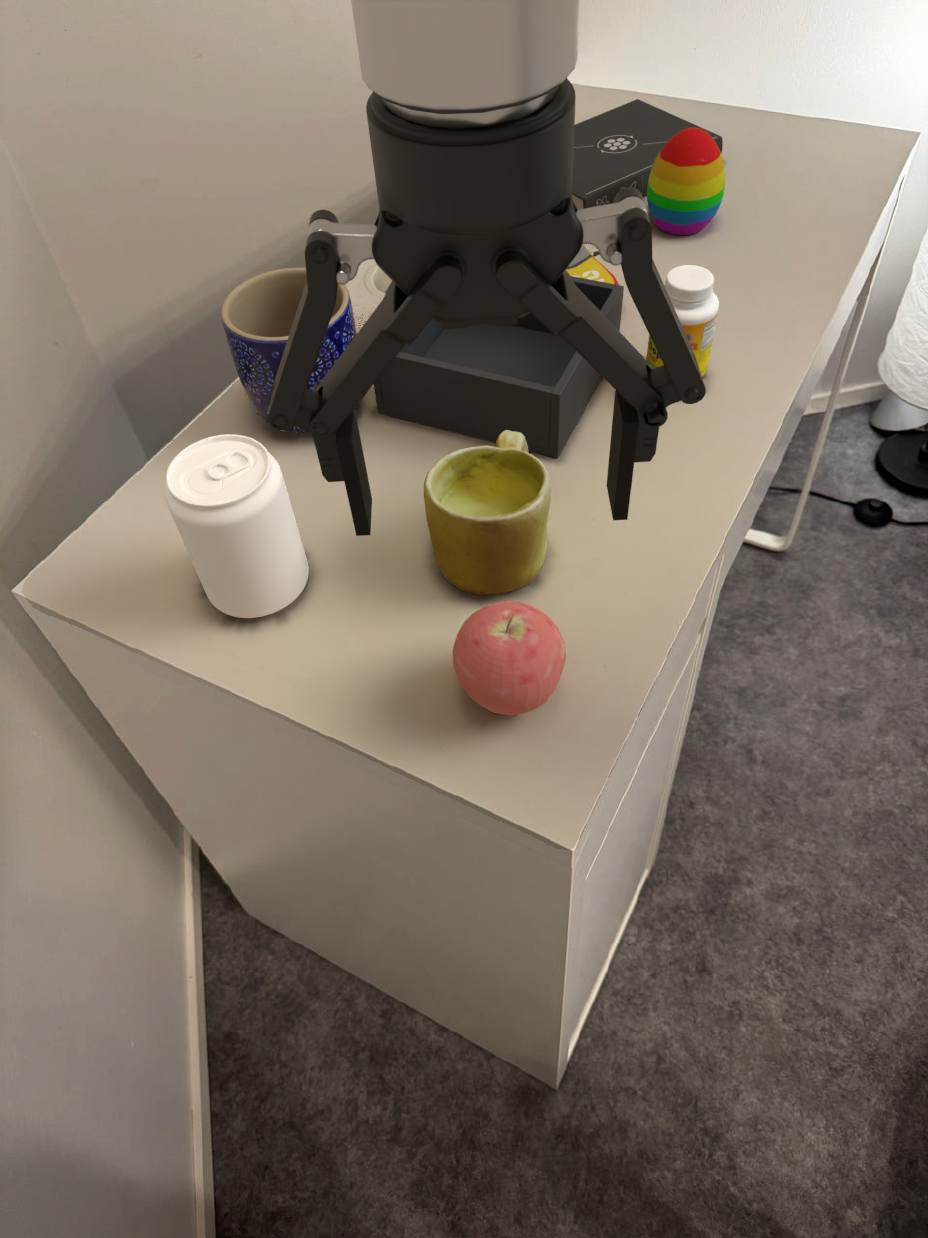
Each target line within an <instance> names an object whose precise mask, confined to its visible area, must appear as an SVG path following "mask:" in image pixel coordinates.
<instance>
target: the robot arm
mask: <svg viewBox="0 0 928 1238" xmlns="http://www.w3.org/2000/svg"><path fill="white" fill-rule="evenodd" d="M350 2H351V9H352V15H353V23H354V31H355V37H356V44H357V45H356V46H357V52H358V58H359V59H358V60H359V67H360V72H361V79H362V81H363V82H364V83H365V85H366V87H367V88H368V89H369V90H371V91H372V92H371V94H370V95H369V97H368V99H367V100H366V101H367V102H366V106H365V111H366V118H367V119H366V120H367V127H368V134H369V135H368V136H369V143H370V148H371V149H370V150H371V156H372V157H371V158H372V165H373V172H374V179H375V188H376V193H377V194H376V195H377V200H378V215H377V217H376V219H375V222H374V224H373V223H371V224H370V223H349V222H348V223H347V222H345V223H344V222H339V218H338V217H337V216H336V215H335V213H333V212H332V211H330V210H328V209H318V210H316V211H314V212H312V213H311V216H310V217H309V221H308V222H309V223H308V229H307V234H306V241H305V242H306V243H305V249H304V261H305V268H306V274H307V280H306V283H305V287H304V290H303V293H302V296H301V299H300V302H299V305H298V309H297V312H296V315H295V318H294V321H293V324H292V327H291V331H290V334H289V337H288V340H287V343H286V346H285V350H284V353H283V356H282V359H281V362H280V365H279V368H278V372H277V375H276V378H275V381H274V384H273V390H272V396H271V402H270V408H269V414H268V422H269V423H268V425H269V426H270V427H272V429H274V430H276V431H281V432H286V431H285V430H288V429H290V428H291V427H292V426H294V427H299V428H302V429H305V430H307V431H308V432H309V433H308V434H310V436H311V437H312V439H313V442H314V446H315V451H316V455H317V458H318V459H317V460H318V463H319V466H320V471H321V474H322V477H323V478H324V479H325V480H326V482H327V483H337V482H338V483H339V482H344V487H345V491H346V495H347V499H348V504H349V509H350V514H351V518H352V522H353V528H354V531H355V537H363V536H364V537H365V536H366V537H367V536H371V532H372V531H371V529H372V514H373V513H372V512H373V511H372V510H373V509H372V508H373V496H372V492H371V485H370V481H369V475H368V471H367V465H366V460H365V454H364V450H363V444H362V439H361V433H360V428H359V423H358V422H359V421H358V418H357V417H358V416H357V412H356V407H357V406H358V404H359V403H360V402H361V400H362V399H363V398H364V397H365V396H366V394H367V393H368V392H369V391H370V390H371V388H372V387H373V386H374V385H373V384H374V383H375V382H376V381H377V379H378V378H379V377H380V376H381V374H382V373H383V372H384V371H385V369H386V368H387V367H388V366H389V364H390V363H391V362H392V361H393V359H394V358H395V357H396V356H397V354H398V353H399V352H400V351H401V349H402V348H403V347H404V346H405V345H410V344H411V343H412V342H413V341H414V340H415V339H416V338H417V336H418V335H419V334H420V333H421V332H422V330H423V329H424V328H425V327H426V325H427V324H428V323H429V322H430V320H431V319H432V320H434V321H436V322H439V323H443V324H445V329H457V328H465V327H468V326H472V325H475V324H478V323H487V324H493V325H499V326H502V325H517V324H518V319H519V318H522V317H524V316H526V315H528V314H529V313H530V312H531V313H532V314H533V315H534V316H535V317H536V318H537V319H538V320H539V321H540V322H542V323H543V324H544V325H545V326H546V327H547V328H548V329H549V330H550V331H551V332H552V333H553V334H554V335H558V334H559V335H561V336H562V337H563V338H564V339H565V340H566V341H567V342H568V343H569V344H570V345H571V346H572V347H573V348H574V349H575V350H576V351H577V352H578V353H579V354H580V355H581V356H582V357H583V358H584V359H585V360H586V361H587V362H588V363H589V364H590V365H591V366H592V367H593V368H594V369H595V370H596V371H597V372H598V373H599V374H600V375H601V376H602V379H604V380H605V381H606V382H607V383H608V384H609V385H610V386H611V387H612V388H613V389H614V397H613V398H614V400H613V410H612V421H611V432H610V443H609V444H610V445H609V453H608V454H609V455H608V466H607V474H606V475H607V477H606V490H607V496H608V500H609V506H610V512H611V517H612V521H628V518H629V509H630V501H631V492H632V485H633V476H634V467H635V463H646V462H647V463H649V462H651V461H652V460H653V458H654V457H655V455H656V452H657V444H658V438H659V433H660V432H659V431H660V427H662V426H663V425H664V424H666V423H667V420H668V418H669V417H668V411H667V408H668V407H669V406H671V405H673V404H676V403H678V402H682V403H684V404H686V405H694V404H697V403H699V402H701V401H702V400H703V399H704V398H705V396H706V394H707V390H706V386H705V383H704V380H703V379H702V376H701V373H700V370H699V366H698V363H697V360H696V357H695V354H694V352H693V350H692V348H691V345H690V343H689V341H688V338H687V336H686V334H685V332H684V329H683V327H682V325H681V322H680V320H679V318H678V316H677V313H676V311H675V309H674V307H673V304H672V302H671V300H670V297H669V295H668V293H667V291H666V288H665V284H664V282H663V279H662V277H661V274H660V272H659V270H658V268H657V265H656V264H655V261H654V259H653V227H652V224H651V220H650V216H649V213H648V210H647V207H646V203H645V201H644V197H642V194H641V193H640V191H639V190H638V189H635V188H633V187H627V188H625V189H622V190H621V191H619V192H618V193H617V194H616V196H615V198H614V202H613V203H612V204H607V205H601V206H596V207H590V208H585V209H579V210H578V209H577V207H576V206H575V204H574V202H573V200H572V179H573V153H574V126H575V123H576V121H575V120H576V97H577V95H576V90H575V88H574V85H573V84H572V82H571V81H570V80H569V79H568V77H569V76H570V75H571V73H572V72H573V71H575V69H576V65H577V62H578V55H579V54H578V50H579V48H578V47H579V19H580V18H579V17H580V0H350ZM582 244H583V245H592V246H594V247H595V248H596V249H597V251H599V253H600V258H601V259H602V260H603V261H604V262H606V263H609V264H610V265H612V266H615V267H616V266H617V267H618V266H620V267H621V271H622V274H623V278H624V282H625V285H626V288H627V290H628V293H629V295H630V297H631V299H632V301H633V303H634V306H635V308H636V309H637V311H638V314H639V316H640V318H641V320H642V322H643V325H644V326H645V328H646V330H647V333H648V336H649V335H650V337H651V339H652V341H653V343H654V345H655V347H656V349H657V352H658V354H659V356H660V358H661V360H662V362H663V364H664V365H663V366H660V367H657V368H653V366H652V365H651V364H650V363H649V362H648V361H647V360H646V358H645V357H644V355H643V354H642V353H641V352H639V350H637V349H636V348H635V346H634V345H633V344H632V343H631V342H630V341H629V340H628V339H627V338H626V337H625V335H623V334H622V333H621V331H620V332H619V331H618V330H617V329H616V327H615V326H614V325H613V324H612V323H611V322H610V321H609V320H608V319H607V318H606V317H605V316H604V315H603V314H602V313H601V312H600V311H599V310H598V308H597V307H596V306H595V305H594V304H593V303H592V302H591V301H590V300H589V299H588V298H587V297H586V296H585V295H584V294H583V293H582V292H581V291H580V290H579V288H578V287H577V286H576V285H575V283H574V282H573V280H572V278H571V276H570V275H569V273H568V272H567V271H566V268H567V267H568V266H569V264H570V263H571V262H572V261H573V259H574V258H575V257H576V255H577V254H578V253H579V251H580V249H581V247H582ZM368 260H374V262H375V263H376V265H377V266H378V268H379V269H380V270H381V271H382V272H383V273H384V274H385V275H386V276H387V277H388V278H389V279H390V281H391V282H390V284H389V285H388V286H387V288H386V290H385V294H384V296H383V298H382V299H381V301H380V302H379V304H378V305H377V306H376V308H375V309H374V310H373V312H372V313H371V314H370V316H369V317H368V318H367V320H366V321H365V322H364V323H363V325H362V326H361V328H360V329H359V330H358V332H357V335H356V336H355V337H354V339H353V340H352V341H351V343H350V344H349V345H348V347H347V348H346V349H345V351H344V352H343V353H342V355H341V356H340V357H339V359H338V360H337V361H336V363H335V364H334V365H333V367H332V368H331V369H330V371H329V372H328V373H327V375H326V376H325V377H324V379H323V380H322V381H321V383H320V384H319V385H318V387H317V382H316V381H315V383H314V388H313V391H311V390H307V389H306V388H307V385H308V382H309V379H310V376H311V373H312V371H313V368H314V365H315V362H316V359H317V356H318V354H319V351H320V348H321V345H322V342H323V339H324V337H325V334H326V331H327V328H328V325H329V322H330V320H331V317H332V314H333V311H334V307H335V304H336V297H337V289H338V284H340V285H345V286H346V285H347V284H348V283H349V282H351V281H353V280H354V279H355V278H356V277H357V275H358V272H359V271H358V270H359V267H360V266H361V265H362V263H364V262H365V261H368Z"/></svg>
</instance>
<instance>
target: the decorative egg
mask: <svg viewBox="0 0 928 1238" xmlns="http://www.w3.org/2000/svg"><path fill="white" fill-rule="evenodd" d="M722 155H723V154H721V152H720V150H719V148H718V146H717V144H716V142H715V141H714V139H713V138H712V137H711V136H710V135H709V134H708V133H707V132H706V131H704V130H703V129H700V128H696V127H690V128H686V129H684V130H681V131H680V132H678V133H677V134H675V135H674V136H673V137H672V138H671V139H670V140H669V141H668V142H667V143H666V144H665V145H664V147H663V148H662V149H661V151H660V152H659V154H658V156H657V158H656V160H655V162H654V164H653V166H652V169H651V172H650V176H649V180H648V185H647V196H646V202H647V207H648V212H649V214H650V217H651V218H652V220H653V222H654V224H655V225H656V227H658V228H659V229H660V230H661V231H663V232H664V233H668V234H671V235H678V236H687V235H692V234H696V233H699V232H700V231H702V230H703V229H705V228H706V227H707V226H708V225H709V224H710V223H711V221H712V220H713V219H714V218H715V216H716V215H717V213H718V211H719V209H720V207H721V204H722V202H723V197H724V194H725V188H726V169H725V163H724V158H723V156H722Z"/></svg>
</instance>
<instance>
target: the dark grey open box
mask: <svg viewBox="0 0 928 1238" xmlns="http://www.w3.org/2000/svg"><path fill="white" fill-rule="evenodd" d="M571 278H572V280H573V282H574V283H575V285H576V286H577V287H578V288H579V290H580V291H581V292H582V293H583V294H584V295H585V296H586V297H587V298H588V299H589V300H590V301H591V302H592V303H593V304H594V305H595V306H596V307H597V308H598V310H599V311H600V312H601V313H602V314H603V315H604V316H605V317H606V318H607V319H608V320H609V321H610V322H611V323H612V324H613V325H614V326H615V327H616V329H617V330H618V331H619V332H620V333H621V321H622V311H623V301H624V292H625V291H624V290H625V286H624V285H620V284H619V285H615V284H611V283H605V282H600V281H595V280H590V279H584V278H579V277H574V276H571ZM602 379H603V377H602V376H601V375H600V374H599V373H598V372H597V371H596V370H595V369H594V368H593V367H592V366H591V365H590V364H589V363H588V362H587V361H586V360H585V359H584V358H583V357H582V356H581V355H580V354H579V353H578V352H577V351H576V350H575V349H574V348H573V347H572V346H571V345H570V344H569V343H568V342H567V341H566V340H565V339H564V338H563V337H562V336H561V335H559V334H558V335H554V334H553V333H552V332H551V331H550V330H549V329H548V328H547V327H546V326H545V325H544V324H543V323H542V322H540V321H539V320H538V319H537V318H536V317H535V316H534V315H533V314H532V313H531V312H530V313H529V314H528V315H526V316H524V317H522V318H519V319H518V324H517V325H502V326H499V325H493V324H487V323H478V324H475V325H472V326H468V327H465V328H457V329H445V324H443V323H439V322H436V321H434V320H432V319H431V320H430V322H429V323H428V324H427V325H426V327H425V328H424V329H423V330H422V332H421V333H420V334H419V335H418V336H417V338H416V339H415V340H414V341H413V342H412V343H411V344H410V345H405V346H404V347H403V348H402V349H401V351H400V352H399V353H398V354H397V356H396V357H395V358H394V359H393V361H392V362H391V363H390V364H389V366H388V367H387V368H386V369H385V371H384V372H383V373H382V374H381V376H380V377H379V378H378V379H377V381H376V382H375V383H374V384H373V385H372V386H373V390H374V397H375V402H376V403H375V404H376V410H377V413H378V414H380V415H385V416H389V417H392V418H396V419H400V420H404V421H408V422H413V423H416V424H420V425H423V426H429V427H431V428H432V427H433V428H436V429H440V430H443V431H447V432H452V433H456V434H460V435H464V436H467V437H470V438H471V437H472V438H475V439H479V440H482V441H487V442H491V443H495V444H496V440H497V439H498V437H499V435H500V434H501V433H502V432H503V431H505V430H509V431H515V432H520V433H522V434H523V435H524V436H525V439H526V442H527V445H528V452H530V453H535V454H538V455H542V456H546V457H550V458H555V459H559V457H560V455H561V454H562V451H563V450H564V448H565V446H566V445H567V443H568V440H569V439H570V437H571V435H572V434H573V432H574V430H575V429H576V427H577V425H578V423H579V421H580V419H581V417H582V416H583V413H584V412H585V410H586V408H587V406H588V404H589V402H590V401H591V399H592V397H593V396H594V394H595V392H596V390H597V388H598V387H599V384H600V383H601V381H602Z"/></svg>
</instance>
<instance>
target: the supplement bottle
mask: <svg viewBox="0 0 928 1238" xmlns="http://www.w3.org/2000/svg"><path fill="white" fill-rule="evenodd" d="M665 278H666V279H665V284H664V286H665V288H666V291H667V293H668V295H669V297H670V300H671V302H672V304H673V307H674V309H675V311H676V313H677V316H678V318H679V320H680V322H681V325H682V327H683V329H684V332H685V334H686V336H687V338H688V341H689V343H690V345H691V348H692V350H693V352H694V354H695V357H696V360H697V363H698V366H699V370H700V373H701V376H702V379H703V381H704V380H705V378H706V375H707V369H708V365H709V360H710V354H711V351H712V350H711V348H712V346H713V339H714V334H715V329H716V325H717V318H718V315H719V308H720V302H719V298H718V296H717V294H716V293H715V292H714V283H715V276H714V274H713V273H712V272H711V270H709V269H707V268H705V267H702V266H700V265H694V264H683V265H678V266H676V267H673V268H672V269H670V270H669V271H668V272H667V274H666V277H665ZM647 342H648V343H647V351H646V358H645V359H646V360H647V361H648V362H649V363H650V364H651V365H652V366H653V368H657V367H660V366H663V365H664V364H663V362H662V360H661V358H660V356H659V354H658V352H657V349H656V347H655V345H654V343H653V341H652V339H651V337H650V335H649V334H648V340H647Z"/></svg>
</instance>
